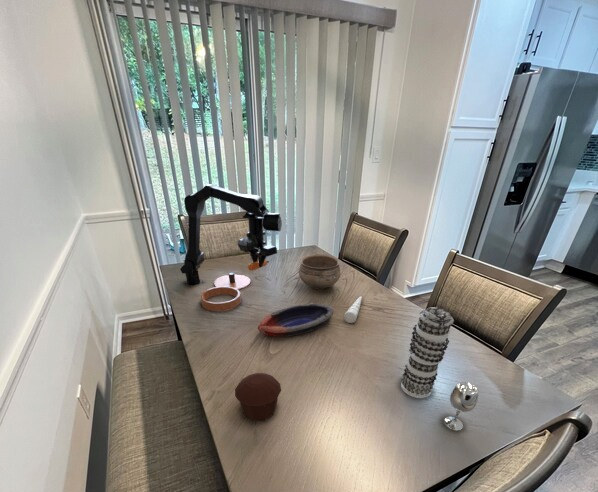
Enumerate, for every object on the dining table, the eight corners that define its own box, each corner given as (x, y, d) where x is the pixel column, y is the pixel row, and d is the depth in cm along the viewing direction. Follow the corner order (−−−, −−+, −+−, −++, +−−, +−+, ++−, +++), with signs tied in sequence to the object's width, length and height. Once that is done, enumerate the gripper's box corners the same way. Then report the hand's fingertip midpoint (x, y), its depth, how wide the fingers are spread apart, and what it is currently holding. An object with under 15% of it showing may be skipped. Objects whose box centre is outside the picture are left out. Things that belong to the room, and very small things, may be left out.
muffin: (243, 430, 79) (239, 401, 74) (232, 400, 88) (228, 372, 82) (288, 416, 83) (287, 387, 78) (273, 388, 92) (272, 361, 86)
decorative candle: (396, 376, 97) (413, 302, 83) (427, 377, 96) (449, 303, 83) (403, 398, 89) (423, 321, 75) (437, 399, 89) (463, 322, 75)
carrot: (251, 272, 136) (250, 265, 134) (246, 270, 137) (246, 263, 136) (270, 265, 143) (270, 258, 141) (265, 263, 144) (265, 257, 143)
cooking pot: (351, 292, 144) (354, 266, 137) (315, 301, 136) (316, 274, 130) (322, 273, 162) (323, 249, 156) (288, 280, 155) (288, 255, 148)
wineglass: (437, 415, 84) (449, 380, 77) (458, 414, 84) (472, 379, 78) (447, 433, 79) (462, 397, 72) (470, 431, 79) (486, 396, 73)
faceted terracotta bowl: (194, 303, 134) (193, 294, 132) (225, 291, 144) (224, 283, 142) (217, 316, 125) (216, 307, 123) (248, 302, 135) (247, 294, 133)
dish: (342, 326, 120) (343, 314, 118) (266, 347, 108) (265, 335, 106) (320, 308, 132) (321, 297, 129) (249, 325, 120) (248, 314, 117)
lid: (206, 284, 150) (205, 273, 147) (235, 273, 160) (234, 264, 158) (229, 295, 141) (227, 284, 138) (258, 283, 151) (257, 273, 148)
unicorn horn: (369, 298, 139) (371, 288, 137) (355, 325, 121) (356, 314, 118) (359, 296, 141) (360, 286, 138) (342, 322, 123) (344, 311, 120)
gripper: (225, 228, 131) (229, 265, 140) (256, 238, 121) (258, 277, 129) (247, 223, 138) (249, 258, 146) (277, 232, 127) (278, 269, 136)
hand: (258, 266), depth 139 cm, fingers closed on carrot, 3 cm apart
